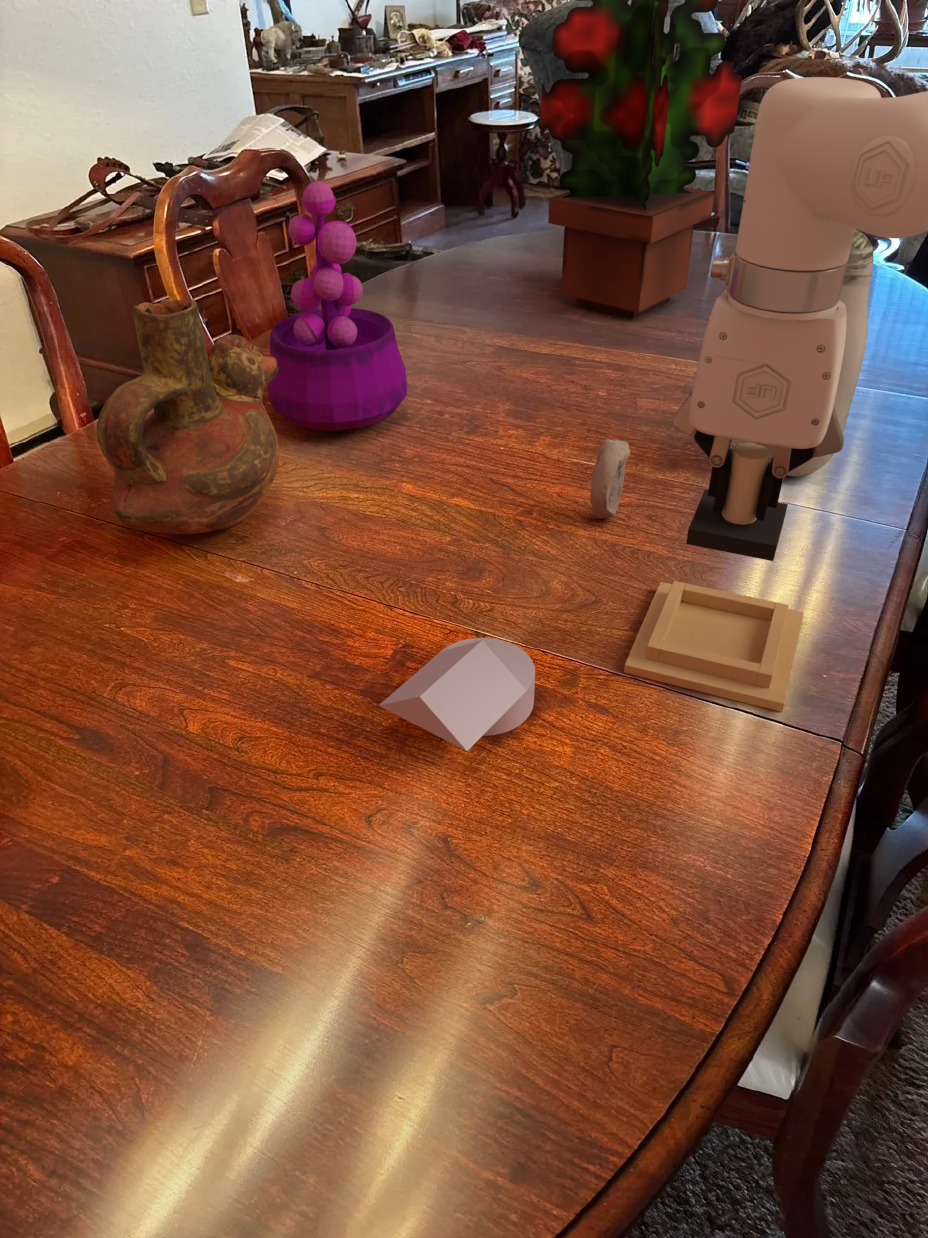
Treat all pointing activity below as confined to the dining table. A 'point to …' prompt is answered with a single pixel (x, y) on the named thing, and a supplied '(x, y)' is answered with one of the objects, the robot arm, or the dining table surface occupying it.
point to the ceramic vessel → (189, 427)
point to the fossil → (608, 477)
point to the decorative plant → (333, 336)
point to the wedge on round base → (468, 691)
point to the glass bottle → (848, 338)
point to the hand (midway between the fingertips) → (741, 506)
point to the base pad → (718, 644)
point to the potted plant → (634, 146)
